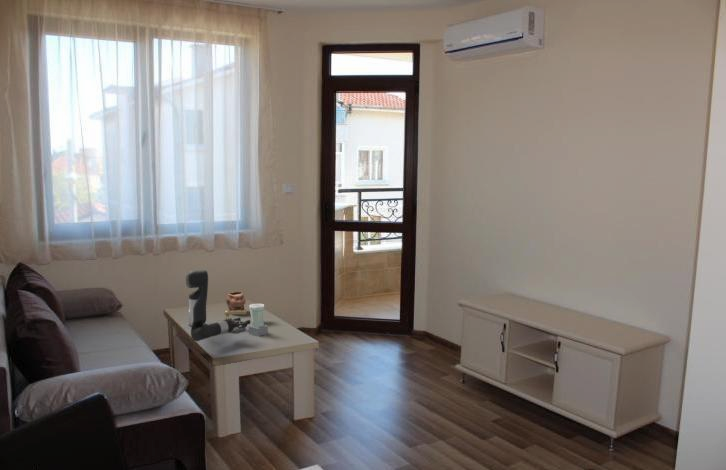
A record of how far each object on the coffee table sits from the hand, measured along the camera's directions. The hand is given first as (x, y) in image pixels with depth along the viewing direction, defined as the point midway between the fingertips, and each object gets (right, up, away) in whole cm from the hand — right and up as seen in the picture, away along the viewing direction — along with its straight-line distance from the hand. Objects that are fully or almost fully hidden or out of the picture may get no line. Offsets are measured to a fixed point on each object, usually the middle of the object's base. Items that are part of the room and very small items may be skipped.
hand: (245, 320), depth 361 cm
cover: (+6, -5, +9) cm, 12 cm away
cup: (+1, -6, +34) cm, 35 cm away
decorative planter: (-17, -3, +57) cm, 60 cm away
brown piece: (-10, -6, +20) cm, 23 cm away
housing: (+6, -9, +10) cm, 15 cm away
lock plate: (-11, -8, +17) cm, 22 cm away
